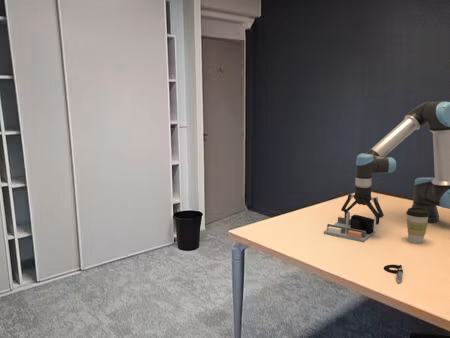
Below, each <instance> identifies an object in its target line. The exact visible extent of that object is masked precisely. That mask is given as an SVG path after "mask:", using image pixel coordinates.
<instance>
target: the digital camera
mask: <svg viewBox="0 0 450 338" xmlns="http://www.w3.org/2000/svg"><path fill="white" fill-rule="evenodd" d="M350 219H351V226H350V228H352V229H357V230H362V231H366V234H371V233H373V230H374V218H371V217H366V216H363V215H360V214H353V215H350Z"/></svg>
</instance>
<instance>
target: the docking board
mask: <svg viewBox="0 0 450 338" xmlns="http://www.w3.org/2000/svg"><path fill="white" fill-rule="evenodd" d="M326 226H327V227H326V228H327V229H325V230H324V231H323V234H324V235H328V236H333V237H338V238H341V239H347V240H351V241H356V242H361V243H365V242H366V241H368V239H369V238H371V236H373V235H374V234H375V233H376V231H377V230H376V231H373V233H371V234H366V231H362V230H357V229H352V228H350V226H351V218H350V221H349V225H348V226H346V219H345V218H344V217H342V216H339V217H337V222H336V223H334V224H331V223H327V225H326Z"/></svg>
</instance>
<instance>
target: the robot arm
mask: <svg viewBox="0 0 450 338" xmlns="http://www.w3.org/2000/svg"><path fill="white" fill-rule="evenodd" d="M427 125H428V128H429V132H431V133H432V143H433V163H434V164H433V165H434V167H433V168H434V177H417V178H416V179H415V180H414V185H413V197H412V198H413V200H412V205H411V207H410V208H422V209H426V210H428V212H429V214H430V216H429V217H428V223H437V222H439V221H440V213H439V211H438V207H437V206H439V207H441V208H444V209H449V210H450V101H425V102H423V103H420V104H419V105H418V106H416V107H414V108H413V109H412V110H410V112H408V113H407V114H406V115H404V119H403V120H402V121H401V122H400V123H399V124H397V126H395V127H394V128H393V129H392V130H391V131H390V132H388V133H387V134H386V135H385V136H384V137H383V138H382V139H381V140H380V141H378V142H377V143H376V144H375V145H374V146H373V147H372V148H370V149H369V150H367V152H363V153H360V154H358V155H357V156H356V160H355V184H354V185H355V187H354V194H353V193H349V194H348V195H347V198H346V200H345V202H344V204H343V205H342V207H341V209H340V211H341V212H343V213H344V217H343V218H345V219H346V226H348V225H349V221H350V219H351V215H350V214H351V212H350V210H351V209H352V208H354V206H356V205H357V204H358V205H362V206H367V207H368V208H369V210H370V211H371V212H372V214H373V215H374V218H373V219H374V230H373V231H377V230H378V225H379V224H380V220H381V218H383V217H384V216H385V214H384V212H383V210H382V208H381V205H380V203H379V198H378V196H375V197H374V196H373V197H372V184H373V174H375V175H376V174H390V173H393V172H395V171H396V169H397V161H396V159H395V158H393V157H388V156H387V155H388V154H389V153H390V152H392V151H393V150H394V149H395V148H396V147H397V146H398V145H400V144H401V143H402V142H403V141H404V140H405V139H406V138H408V136H410V135H411V134H412V133H414V131H415V130H416V131H417V130H420V129H421V128H422V127H424V126H427ZM386 156H387V157H386ZM352 199H354V200H355V201H353V202H352V203H351V204H350V202H351V200H352ZM371 201H372V202H371ZM373 203H374V205H373ZM349 204H350V205H349ZM348 205H349V206H348Z"/></svg>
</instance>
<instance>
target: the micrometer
mask: <svg viewBox="0 0 450 338" xmlns="http://www.w3.org/2000/svg"><path fill="white" fill-rule="evenodd" d="M393 268H394V269H393ZM383 270H384V271H385V272H386V273H389V274H396V275H395V280H396V283H397V284H401V283H402V282H403V275H404V270H403V265H402V264H387V265H385V266H384V267H383Z"/></svg>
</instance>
